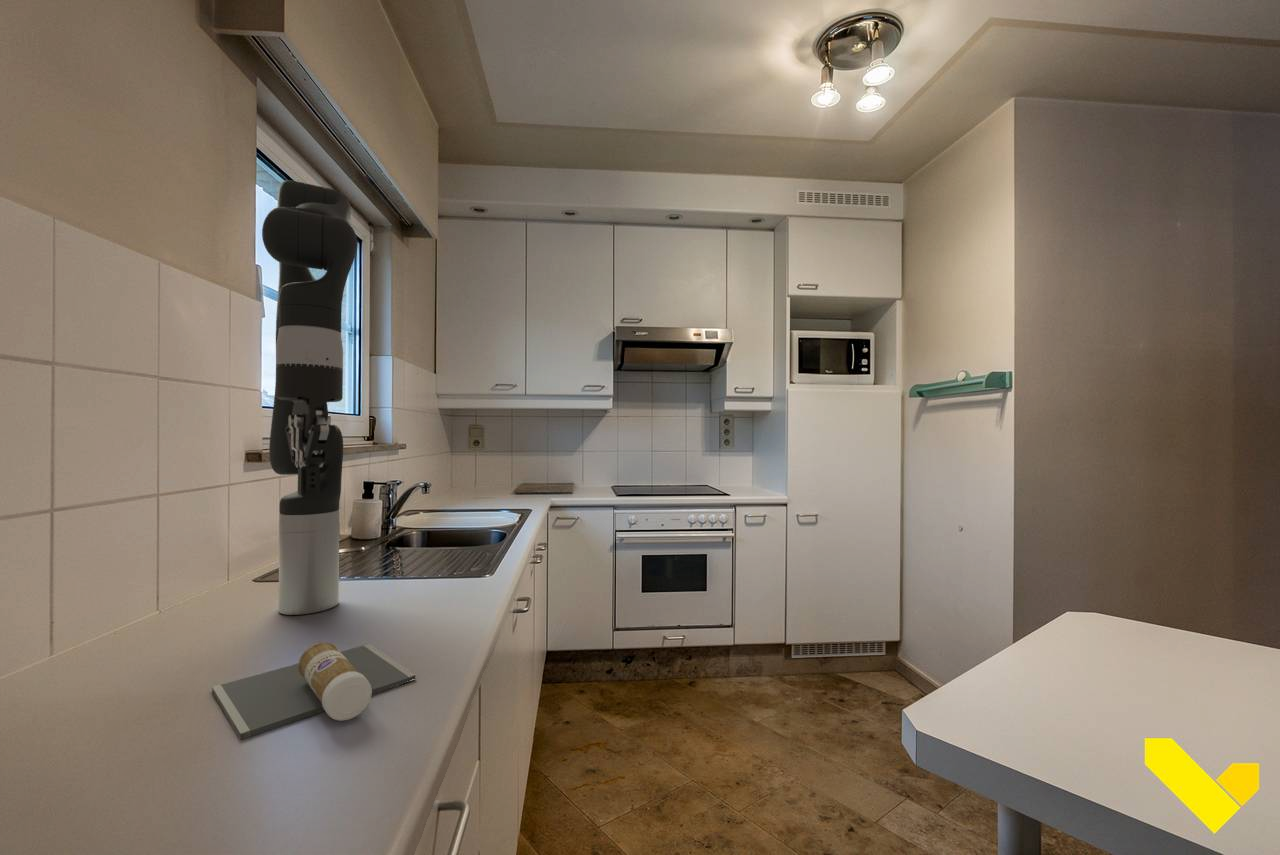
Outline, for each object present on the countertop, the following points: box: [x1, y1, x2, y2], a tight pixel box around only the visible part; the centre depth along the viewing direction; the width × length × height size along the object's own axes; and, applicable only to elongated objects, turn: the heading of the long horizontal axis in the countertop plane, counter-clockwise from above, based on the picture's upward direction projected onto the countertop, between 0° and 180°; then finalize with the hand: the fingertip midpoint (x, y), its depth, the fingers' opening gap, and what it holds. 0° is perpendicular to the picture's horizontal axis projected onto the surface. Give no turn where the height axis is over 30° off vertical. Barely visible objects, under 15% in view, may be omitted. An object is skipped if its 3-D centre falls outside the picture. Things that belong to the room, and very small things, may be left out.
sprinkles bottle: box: [297, 641, 373, 722], centre depth 62 cm, size 5×5×14 cm
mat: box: [211, 643, 416, 741], centre depth 66 cm, size 15×18×1 cm
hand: (308, 496), depth 70 cm, fingers closed
